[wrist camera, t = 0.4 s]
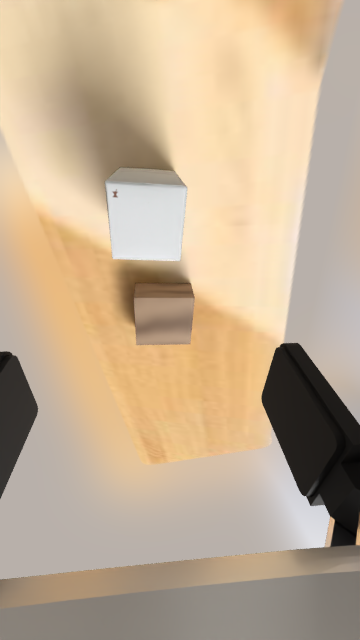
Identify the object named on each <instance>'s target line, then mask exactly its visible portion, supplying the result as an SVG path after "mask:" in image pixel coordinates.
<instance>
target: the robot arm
mask: <svg viewBox="0 0 360 640" xmlns="http://www.w3.org/2000/svg"><path fill="white" fill-rule="evenodd" d="M262 403H263V406H264V408H265V411H266V413H267V415H268V418H269V420H270V423H271V425H272V427H273V430H274V432H275V434H276V437H277V439H278V441H279V444H280V446H281V448H282V451H283V453H284V455H285V458H286V460H287V463H288V465H289V467H290V470H291V472H292V474H293V477H294V479H295V481H296V483H297V486H298V488H299V490H300V492H301V494H302V495H303V496H306V497H307V499H308V501H309V503H310V506H316V505H325V506H326V508H327V510H328V513H329V515H330V521H329V527H328V532H327V537H326V543H325V547H323V548H310V549H297V550H287V551H276V552H265V553H255V554H245V555H235V556H224V557H214V558H204V559H194V560H184V561H174V562H164V563H155V564H144V565H135V566H126V567H115V568H106V569H96V570H86V571H77V572H67V573H58V574H49V575H39V576H30V577H21V578H11V579H2V580H0V640H360V425H359V423H358V422H357V421H356V419H355V418H354V417H353V415H352V414H351V413H350V411H349V410H348V409H347V407H346V406H345V405H344V403H343V402H342V401H341V399H340V398H339V397H338V395H337V394H336V392H335V391H334V390H333V388H332V387H331V386H330V384H329V383H328V382H327V380H326V379H325V378H324V376H323V375H322V374H321V372H320V371H319V370H318V368H317V367H316V366H315V364H314V363H313V362H312V360H311V359H310V358H309V356H308V355H307V353H306V352H305V351H304V349H303V348H302V347H301V345H299V344H298V343H283V344H281V345H280V347H278V348H276V350H275V353H274V356H273V360H272V363H271V366H270V370H269V373H268V376H267V379H266V383H265V386H264V389H263V393H262ZM37 412H38V406H37V403H36V401H35V399H34V396H33V394H32V391H31V389H30V387H29V384H28V382H27V380H26V377H25V375H24V372H23V370H22V367H21V365H20V362H19V360H18V358H17V357H16V356H13V355H12V353H10V352H0V498H1V496H2V494H3V491H4V489H5V487H6V484H7V482H8V480H9V478H10V475H11V473H12V471H13V469H14V466H15V464H16V462H17V459H18V457H19V455H20V452H21V450H22V448H23V445H24V443H25V441H26V439H27V437H28V434H29V432H30V430H31V427H32V425H33V423H34V420H35V418H36V416H37Z"/></svg>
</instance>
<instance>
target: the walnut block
mask: <svg viewBox="0 0 360 640" xmlns="http://www.w3.org/2000/svg"><path fill="white" fill-rule="evenodd" d="M194 299H195V297H194V294H193V290H192V286H191V283H135V292H134V311H135V327H136V344H137V345H168V344H190V342H191V331H192V320H193V310H194Z"/></svg>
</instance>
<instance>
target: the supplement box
mask: <svg viewBox="0 0 360 640" xmlns="http://www.w3.org/2000/svg"><path fill="white" fill-rule="evenodd" d="M105 189H106V199H107V208H108V218H109V228H110V237H111V248H112V258H113V259H128V260H164V261H180V260H181V249H182V238H183V228H184V218H185V208H186V197H187V186H186V185H185V184H184V183H183V182H182V180H181V179H180V178H179V176H178V175H177V174H176V172H175V171H168V170H157V169H143V168H124V167H120V168H119V169H118V170H117V171H116V172H114V173H113V174H112V175H111V176H110V177H109V178H108V179H107V180H106V181H105Z"/></svg>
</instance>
